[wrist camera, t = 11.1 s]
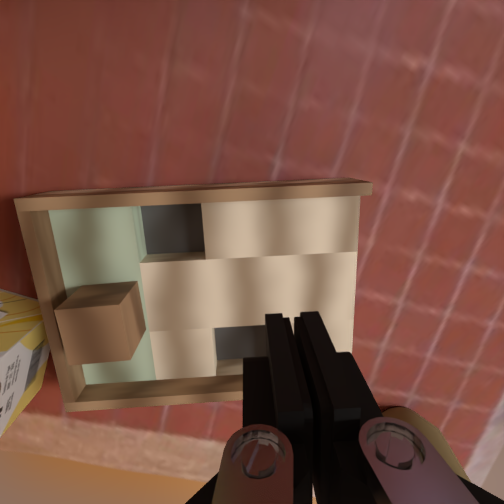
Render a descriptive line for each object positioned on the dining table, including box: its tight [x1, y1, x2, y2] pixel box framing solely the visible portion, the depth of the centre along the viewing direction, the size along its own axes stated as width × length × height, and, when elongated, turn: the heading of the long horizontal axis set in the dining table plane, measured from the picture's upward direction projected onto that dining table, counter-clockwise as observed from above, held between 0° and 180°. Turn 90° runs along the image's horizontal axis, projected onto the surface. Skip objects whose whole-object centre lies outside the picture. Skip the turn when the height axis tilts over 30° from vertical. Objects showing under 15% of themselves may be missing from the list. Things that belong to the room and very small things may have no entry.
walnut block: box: [54, 281, 146, 366], centre depth 29 cm, size 5×5×5 cm
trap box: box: [14, 178, 373, 412], centre depth 31 cm, size 28×20×6 cm
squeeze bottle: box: [382, 407, 471, 482], centre depth 32 cm, size 8×8×18 cm
